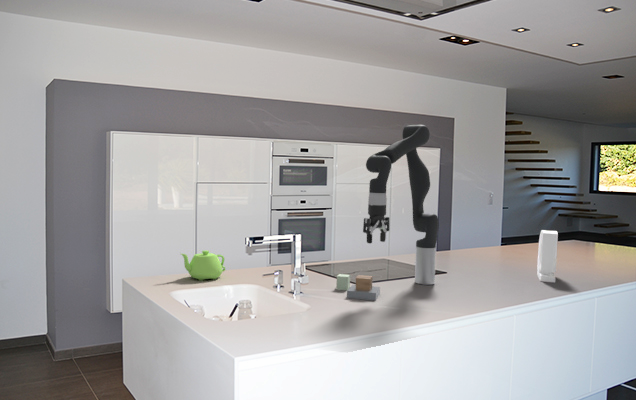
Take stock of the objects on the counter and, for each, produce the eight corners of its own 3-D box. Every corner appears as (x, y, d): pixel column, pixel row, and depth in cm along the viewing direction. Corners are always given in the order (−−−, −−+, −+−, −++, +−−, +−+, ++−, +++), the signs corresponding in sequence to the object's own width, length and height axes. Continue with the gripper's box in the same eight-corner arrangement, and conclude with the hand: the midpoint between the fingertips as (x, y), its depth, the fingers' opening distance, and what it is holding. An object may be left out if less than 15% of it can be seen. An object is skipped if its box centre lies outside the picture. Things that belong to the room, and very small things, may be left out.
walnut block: (358, 286, 224) (358, 275, 224) (372, 287, 223) (372, 276, 222) (355, 289, 218) (355, 277, 218) (369, 290, 217) (370, 279, 217)
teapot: (184, 283, 235) (184, 254, 235) (175, 277, 248) (175, 249, 247) (230, 279, 247) (231, 251, 246) (219, 273, 259) (219, 247, 259)
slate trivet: (352, 291, 228) (352, 284, 228) (379, 293, 225) (380, 286, 225) (346, 297, 216) (347, 290, 216) (375, 300, 213) (375, 293, 213)
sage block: (338, 287, 236) (339, 274, 236) (349, 288, 235) (350, 274, 235) (336, 289, 231) (336, 276, 231) (347, 290, 230) (347, 277, 230)
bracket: (540, 281, 260) (543, 231, 259) (536, 273, 280) (539, 226, 279) (555, 282, 258) (558, 232, 257) (550, 274, 278) (553, 227, 277)
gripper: (381, 202, 226) (380, 240, 227) (359, 203, 217) (358, 242, 217) (395, 203, 221) (393, 242, 222) (373, 204, 211) (371, 244, 212)
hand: (376, 242), depth 220 cm, fingers open, 8 cm apart
